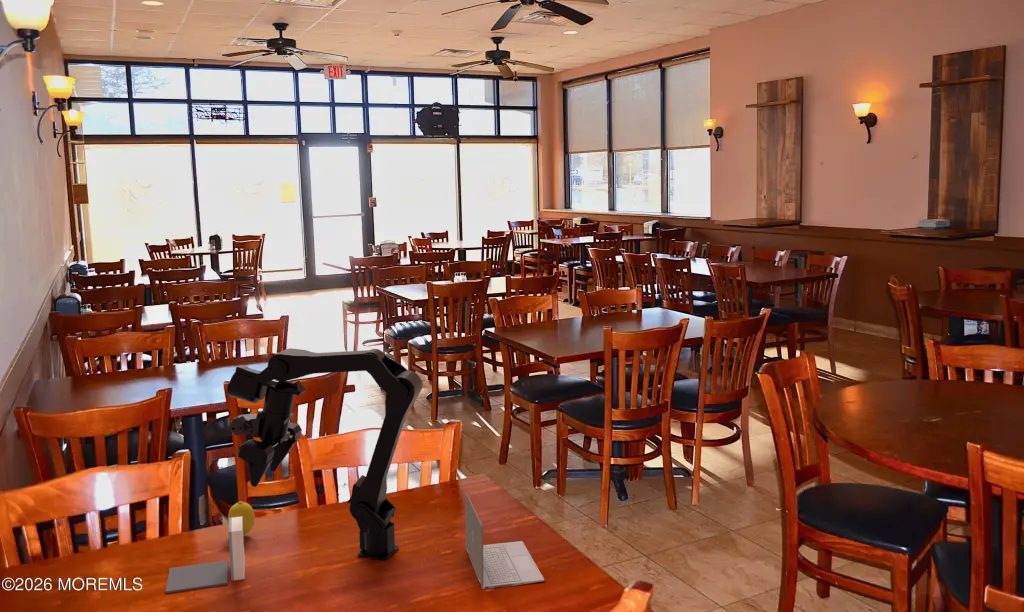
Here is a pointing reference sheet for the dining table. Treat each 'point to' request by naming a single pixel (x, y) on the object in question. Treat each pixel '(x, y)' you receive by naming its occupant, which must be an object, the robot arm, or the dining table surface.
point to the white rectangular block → (236, 548)
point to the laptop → (497, 556)
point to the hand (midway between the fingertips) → (263, 478)
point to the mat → (197, 576)
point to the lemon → (243, 515)
